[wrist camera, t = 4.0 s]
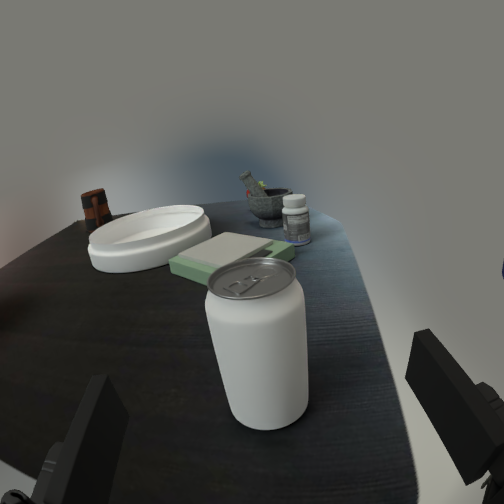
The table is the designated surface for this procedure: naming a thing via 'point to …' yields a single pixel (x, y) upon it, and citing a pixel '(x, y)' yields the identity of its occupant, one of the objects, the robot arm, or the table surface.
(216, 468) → the table surface
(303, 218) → the pill bottle
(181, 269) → the kitchen scale
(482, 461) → the robot arm
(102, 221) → the mug
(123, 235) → the white round shallow dish
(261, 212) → the mortar and pestle
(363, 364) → the table surface
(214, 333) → the can
